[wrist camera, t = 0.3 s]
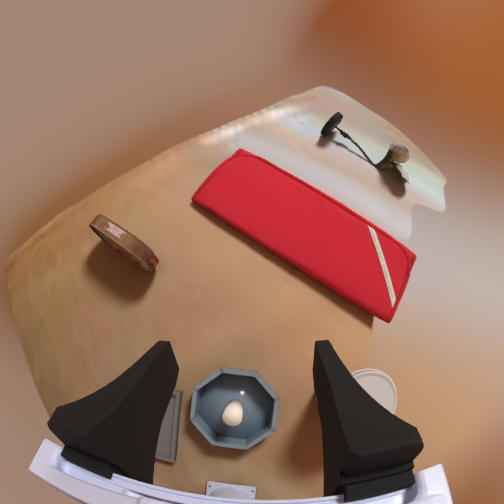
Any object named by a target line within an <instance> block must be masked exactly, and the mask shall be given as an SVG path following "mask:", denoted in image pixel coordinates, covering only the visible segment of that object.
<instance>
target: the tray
mask: <svg viewBox="0 0 504 504" xmlns="http://www.w3.org/2000/svg"><path fill="white" fill-rule="evenodd" d="M118 377H119V376H117V378H118ZM182 392H183V391H180V390H175V389H174V391H173V394H172V397H171V399H170V402H169V405H168V407H167V410H166V413H165V415H164V418H163V421H162V425H161V429H160V433H159V438H158V443H157V449H156V455H155V458H157V459H160V460H164V461H168V462H172V463H174V462H175V461H176V455H177V443H178V431H179V421H180V411H181V401H182Z"/></svg>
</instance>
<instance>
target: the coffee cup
mask: <svg viewBox="0 0 504 504" xmlns="http://www.w3.org/2000/svg"><path fill="white" fill-rule="evenodd" d="M349 372H350V373H351V375H352V376H353V377H354V378H355V380H356V381H357V382H358V383H359V384H360V385H361V387H362V388H363V389H364V390H365V391H366V392H367V393H368V394H369V395H370V396H371V397H372V398H374V399H375V400H376V401H377V402H378V403H379V404H381V405H382V406H383V407H384V408H386V409H387V410H388V411H390V412H391V413H392V414H394V412H395V410H396V406H397V399H398V397H397V390H396V387H395V385H394V383H393V381H392V380H391V378H390V377H389V376H388V375H387V374H385V373H384V372H382V371H379V370H376V369H362V370H350V371H349ZM315 399H316V394H315ZM316 404H317V400H316ZM317 406H318V405H317Z"/></svg>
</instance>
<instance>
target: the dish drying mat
mask: <svg viewBox="0 0 504 504" xmlns="http://www.w3.org/2000/svg"><path fill="white" fill-rule="evenodd" d="M192 201H193V202H195V203H197V204H198V205H200V206H201V207H203V208H205V209H206V210H208V211H210V212H212V213H213V214H215V215H216V216H218V217H219V218H221V219H222V220H224V221H225V222H227V223H228V224H230V225H231V226H233V227H234V228H236V229H237V230H239V231H240V232H242V233H243V234H245V235H247V236H248V237H250V238H251V239H253V240H255V241H256V242H258V243H259V244H261V245H262V246H264V247H266V248H267V249H269V250H270V251H272V252H273V253H275V254H276V255H278V256H279V257H281V258H283V259H284V260H286V261H288V262H289V263H291V264H292V265H294V266H295V267H297V268H298V269H300V270H301V271H303V272H304V273H306V274H307V275H309V276H310V277H312V278H314V279H315V280H317V281H318V282H320V283H322V284H323V285H325V286H326V287H328V288H329V289H331V290H333V291H334V292H336V293H337V294H339V295H341V296H342V297H344V298H346V299H347V300H349V301H351V302H352V303H354V304H356V305H357V306H359V307H361V308H362V309H364V310H366V311H367V312H369V313H370V314H372V315H374V316H375V317H378V318H379V319H381V320H383V321H385V322H387V323H389V322H391V320H392V318H393V316H394V314H395V311H396V309H397V307H398V304H399V302H400V300H401V298H402V295H403V293H404V291H405V288H406V286H407V283H408V280H409V276H410V272H411V269H412V267H413V264H414V262H415V260H416V255H415V254H414V253H413V252H412V251H410V250H409V249H408V248H407V247H405V246H404V245H403V244H401V243H400V242H398V241H397V240H396V239H394V238H393V237H392V236H390V235H389V234H388V233H386V232H385V231H383V230H382V229H380V228H379V227H377V226H376V225H374V224H373V223H371V222H370V221H368V220H366V219H365V218H363V217H362V216H360V215H359V214H357V213H356V212H354V211H352V210H351V209H349V208H348V207H346V206H345V205H343V204H342V203H340V202H339V201H337V200H335V199H334V198H332V197H330V196H328V195H327V194H325V193H323V192H321V191H320V190H318V189H316V188H314V187H313V186H311V185H309V184H307V183H306V182H304V181H302V180H300V179H299V178H297V177H295V176H294V175H292V174H290V173H288V172H286V171H284V170H282V169H281V168H279V167H277V166H275V165H274V164H272V163H270V162H269V161H267V160H265V159H263V158H261V157H259V156H256V155H254V154H252V153H250V152H247V151H245V150H243V149H239V150H237V151H236V152H235V153H234V154H233V155H232V156H231V157H230V158H228V159H227V160H225V161H224V162H223V163H222V164H220V165H219V166H218V167H217V168H216V169H215V170H214V171H213V172H212V173H211V174H210V175H209V176H208V178H207V179H206V180H205V181H204V182H203V183H202V185H201V186H200V187H199V188H198V190H197V191H196V192H195V194H194V195H193V197H192Z"/></svg>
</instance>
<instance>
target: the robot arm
mask: <svg viewBox="0 0 504 504" xmlns="http://www.w3.org/2000/svg"><path fill="white" fill-rule="evenodd" d="M178 372H179V367H178V364H177V361H176V358H175V356H174V353H173V350H172V347H171V344H170V341H158V342H157V343H156V344H155V345H154V346H153V347H152V348H151V349H149V350H148V351H147V352H146V353H145V354H144V355H143V356H142V357H141V358H140V359H139V360H138V361H137V362H136V363H134V364H133V365H132V366H131V367H130V368H129V369H127V370H126V371H125V372H124V373H123V374H121V375H120V376H119V377H118V378H116V379H115V380H114V381H112V382H111V383H109V384H108V385H106V386H105V387H103V388H101V389H99V390H98V391H96V392H94V393H92V394H90V395H88V396H86V397H84V398H82V399H79V400H77V401H75V402H72V403H69V404H66V405H63V406H59V407H57V408H56V410H55V411H54V413H53V414H52V416H51V418H50V420H49V421H48V423H47V424H48V427H49V429H50V430H51V431H52V432H53V433H54V434H55V435H56V436H57V437H58V438H59V439H60V440H61V441H62V442H63V443H64V444H65V446H64V448H62V447H60V446H59V445H57V444H55V443H53V442H51V441H49V440H47V439H44V441H43V443H42V445H41V447H40V448H39V450H38V452H37V454H36V456H35V458H34V459H33V462H32V463H31V465H30V467H29V470H30V471H31V472H32V473H33V474H35V475H36V476H38V477H39V478H40V479H42V480H43V481H45V482H46V483H48V484H49V485H50V486H52V487H53V488H55V489H56V490H58V491H60V492H62V493H63V494H65V495H67V496H69V497H70V498H72V499H74V500H76V501H78V502H80V503H82V504H453V502H452V498H451V494H450V490H449V487H448V483H447V479H446V476H445V472H444V469H443V466H442V464H438V465H435V466H432V467H430V468H427V469H424V470H421V471H419V472H417V473H415V474H413V471H412V469H413V468H414V464H413V460H414V459H415V458H416V456H418V455H419V453H420V452H421V451H422V449H423V447H424V444H423V441H422V439H421V436H420V434H419V432H418V430H417V428H416V427H414V426H412V425H410V424H408V423H406V422H405V421H403V420H401V419H400V418H398V417H397V416H395V415H394V414H392V413H391V412H390V411H388V410H387V409H386V408H384V407H383V406H382V405H381V404H379V403H378V402H377V401H376V400H375V399H374V398H372V397H371V396H370V395H369V394H368V393H367V392H366V391H365V390H364V389H363V388H362V387H361V385H360V384H359V383H358V382H357V381H356V380H355V378H354V377H353V376H352V375H351V373H350V372H349V371H348V369H347V368H346V367H345V365H344V364H343V363H342V361H341V360H340V358H339V357H338V355H337V353H336V352H335V350H334V348H333V347H332V345H331V343H330V341H328V340H322V341H315V350H314V362H313V379H314V389H315V394H316V400H317V405H318V410H319V415H320V420H321V427H322V438H323V458H324V497H319V498H309V499H293V500H254V499H255V493H256V487H254V486H244V485H234V484H226V483H219V482H213V481H208V482H207V489H206V495H199V494H193V493H187V492H182V491H177V490H172V489H167V488H163V487H159V486H155V485H153V473H154V463H155V455H156V449H157V443H158V438H159V433H160V429H161V425H162V421H163V418H164V415H165V413H166V410H167V407H168V405H169V402H170V399H171V397H172V394H173V391H174V388H175V385H176V381H177V377H178ZM209 485H211V487H210V486H209ZM252 490H253V491H254V492H252Z"/></svg>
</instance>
